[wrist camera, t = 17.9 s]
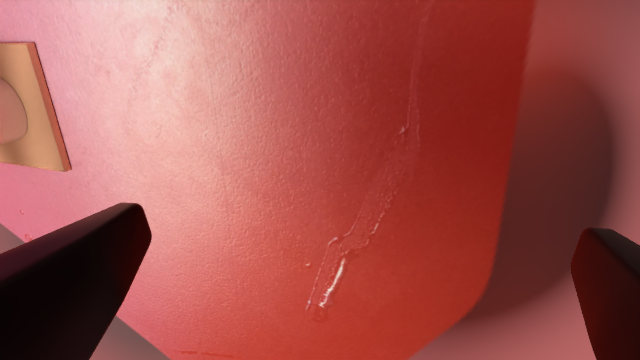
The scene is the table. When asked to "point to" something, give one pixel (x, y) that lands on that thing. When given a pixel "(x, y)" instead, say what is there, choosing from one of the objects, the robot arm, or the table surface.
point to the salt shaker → (11, 115)
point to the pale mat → (32, 111)
